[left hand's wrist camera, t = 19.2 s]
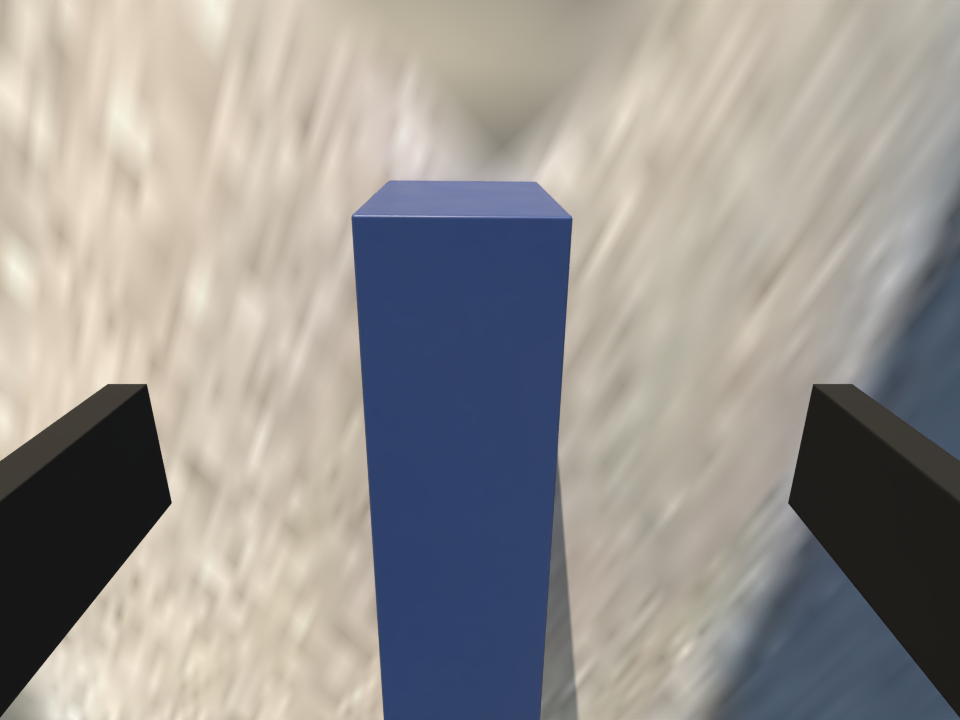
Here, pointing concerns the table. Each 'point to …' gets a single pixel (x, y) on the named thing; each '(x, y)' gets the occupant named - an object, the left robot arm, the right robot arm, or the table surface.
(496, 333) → the bar
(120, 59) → the table surface
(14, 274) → the table surface
